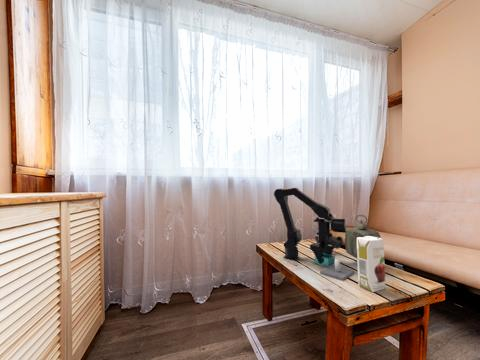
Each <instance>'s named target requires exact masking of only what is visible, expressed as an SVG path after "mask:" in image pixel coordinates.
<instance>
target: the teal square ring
mask: <svg viewBox="0 0 480 360" xmlns="http://www.w3.org/2000/svg"><path fill="white" fill-rule="evenodd" d="M335 259H336V255H334V254H332V255H330V254H325V253H323V255H322V264H320V263H319V262H318V260H317V258H316V256H315V255H314V264H317V265H320V266H324V267H326V268H328V267H330V266H332V265H335Z"/></svg>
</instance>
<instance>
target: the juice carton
mask: <svg viewBox="0 0 480 360" xmlns="http://www.w3.org/2000/svg"><path fill="white" fill-rule="evenodd" d="M384 245H385V244H384V238H377V237H372V236H365V237H357V258H356V262H357V264H356V265H357V284H358V287H360V288H363V289H366V291H367V290H368V291H370V292H372V293H376V292H378V291H382V290H384V289H385V288H386V271H385V270H386V267H385V246H384Z"/></svg>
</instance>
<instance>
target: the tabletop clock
mask: <svg viewBox="0 0 480 360" xmlns="http://www.w3.org/2000/svg"><path fill="white" fill-rule="evenodd" d="M359 217H363V218H365V221H363V220H358V218H359ZM355 220H356V222H358V224H356V226H355V227H354V228H348V229H346V233H344V234H345V235H344V242H345V244H344V245H345V251H346V253H347V254H348V255H349V256H351V257H354V258H356V259H357V237H365V236H372V237H377V238H381V234H380V233H379V232H378V231H377V230H374V229H371V228H368V226H367V225H366V224H367V222H368V218H367V217H366V216H365V215H363V214H357V216H355Z"/></svg>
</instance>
